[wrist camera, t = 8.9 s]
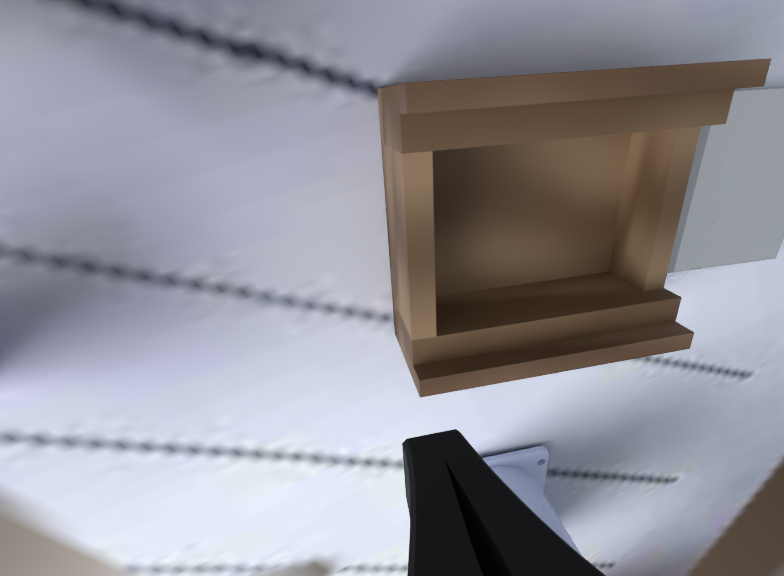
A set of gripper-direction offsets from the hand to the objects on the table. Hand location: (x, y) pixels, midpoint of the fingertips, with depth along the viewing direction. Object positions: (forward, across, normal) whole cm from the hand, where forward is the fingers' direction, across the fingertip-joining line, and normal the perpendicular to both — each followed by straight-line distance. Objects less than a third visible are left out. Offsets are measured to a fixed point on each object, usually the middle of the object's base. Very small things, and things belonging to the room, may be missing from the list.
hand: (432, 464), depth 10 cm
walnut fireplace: (+10, -7, -3) cm, 13 cm away
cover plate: (+11, -18, -3) cm, 21 cm away
